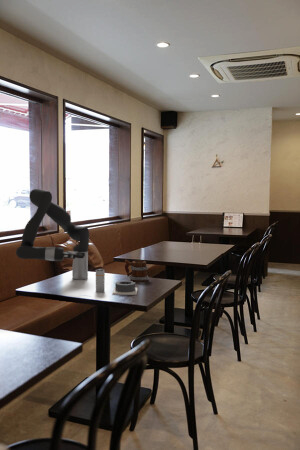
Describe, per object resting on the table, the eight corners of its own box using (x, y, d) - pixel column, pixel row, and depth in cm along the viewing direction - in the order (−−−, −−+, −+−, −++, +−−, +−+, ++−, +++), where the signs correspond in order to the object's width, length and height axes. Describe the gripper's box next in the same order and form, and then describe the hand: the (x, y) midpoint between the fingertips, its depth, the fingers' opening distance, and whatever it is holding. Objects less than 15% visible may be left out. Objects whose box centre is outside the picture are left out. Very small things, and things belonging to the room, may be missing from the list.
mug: (149, 282, 254) (145, 258, 253) (126, 285, 254) (122, 261, 253) (150, 278, 266) (146, 255, 265) (128, 281, 266) (124, 258, 265)
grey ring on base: (112, 294, 223) (112, 285, 222) (114, 288, 236) (114, 280, 235) (136, 294, 223) (136, 285, 222) (137, 289, 236) (137, 280, 235)
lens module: (94, 292, 227) (94, 270, 226) (96, 290, 232) (96, 268, 231) (104, 292, 227) (104, 270, 226) (105, 290, 232) (105, 268, 231)
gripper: (53, 248, 220) (83, 249, 221) (56, 246, 234) (85, 247, 236) (52, 262, 220) (83, 263, 222) (55, 259, 234) (84, 260, 236)
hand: (84, 255), depth 229 cm, fingers open, 8 cm apart
